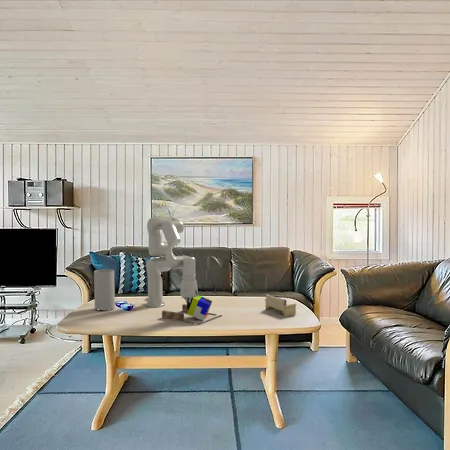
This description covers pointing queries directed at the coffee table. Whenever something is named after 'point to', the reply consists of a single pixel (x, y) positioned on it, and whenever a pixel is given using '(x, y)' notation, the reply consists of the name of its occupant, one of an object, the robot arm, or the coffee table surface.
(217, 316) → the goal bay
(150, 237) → the robot arm
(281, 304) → the toy sofa
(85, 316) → the coffee table surface
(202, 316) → the puzzle toy
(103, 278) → the grey rounded tower
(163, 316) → the chute
